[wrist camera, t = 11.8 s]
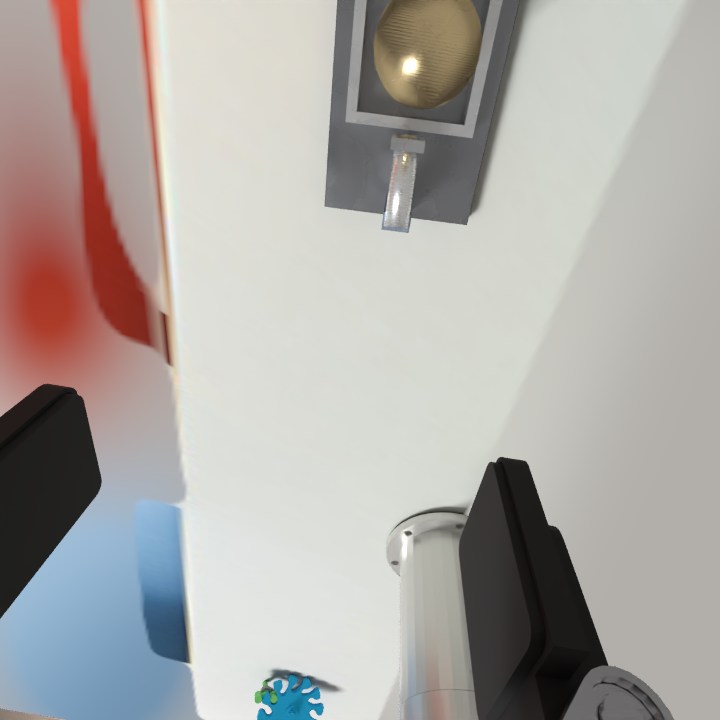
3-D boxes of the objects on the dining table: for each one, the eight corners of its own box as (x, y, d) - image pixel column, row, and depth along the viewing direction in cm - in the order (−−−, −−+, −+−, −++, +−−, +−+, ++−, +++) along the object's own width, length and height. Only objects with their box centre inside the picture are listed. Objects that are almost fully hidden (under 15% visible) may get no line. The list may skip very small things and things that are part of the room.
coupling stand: (552, -161, 21) (602, -239, 16) (464, 220, 31) (477, 249, 26) (352, -185, 21) (335, -271, 16) (327, 202, 31) (311, 228, 26)
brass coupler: (450, 104, 26) (467, 115, 20) (376, 95, 26) (367, 102, 20) (468, 10, 24) (494, -14, 17) (387, 0, 24) (380, -28, 17)
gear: (336, 698, 70) (300, 766, 67) (329, 678, 75) (296, 740, 73) (276, 663, 68) (237, 731, 66) (274, 645, 74) (238, 707, 71)
